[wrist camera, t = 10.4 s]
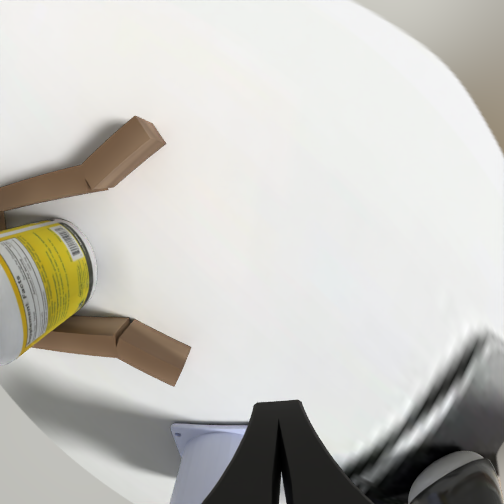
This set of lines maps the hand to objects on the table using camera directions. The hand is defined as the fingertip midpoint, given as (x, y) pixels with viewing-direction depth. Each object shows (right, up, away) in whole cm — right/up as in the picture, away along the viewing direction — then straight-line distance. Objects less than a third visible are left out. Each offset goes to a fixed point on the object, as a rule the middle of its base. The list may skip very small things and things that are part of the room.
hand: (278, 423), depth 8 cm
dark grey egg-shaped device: (+20, -19, +14) cm, 30 cm away
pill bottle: (-13, +5, +9) cm, 17 cm away
